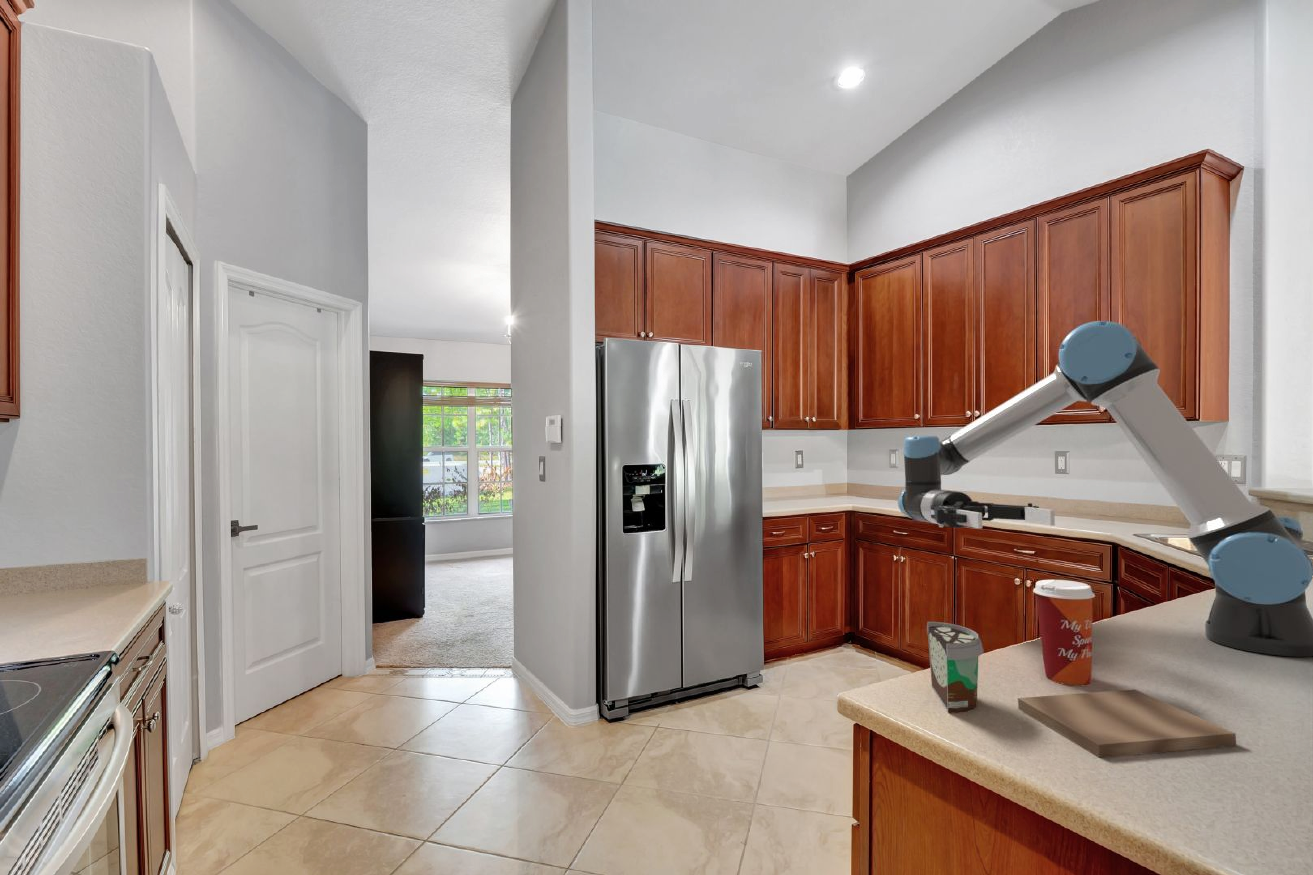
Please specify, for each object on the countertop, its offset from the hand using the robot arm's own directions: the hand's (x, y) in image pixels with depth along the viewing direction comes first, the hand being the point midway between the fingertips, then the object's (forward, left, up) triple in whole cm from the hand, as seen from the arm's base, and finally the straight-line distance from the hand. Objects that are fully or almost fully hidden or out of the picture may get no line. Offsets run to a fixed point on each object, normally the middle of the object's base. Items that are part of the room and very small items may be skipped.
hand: (1016, 519), depth 107 cm
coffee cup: (0, +10, -24) cm, 27 cm away
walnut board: (+6, +26, -24) cm, 36 cm away
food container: (+21, +15, -25) cm, 35 cm away
